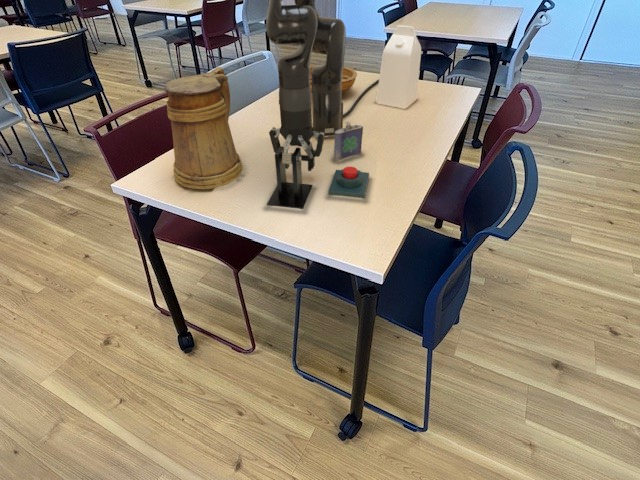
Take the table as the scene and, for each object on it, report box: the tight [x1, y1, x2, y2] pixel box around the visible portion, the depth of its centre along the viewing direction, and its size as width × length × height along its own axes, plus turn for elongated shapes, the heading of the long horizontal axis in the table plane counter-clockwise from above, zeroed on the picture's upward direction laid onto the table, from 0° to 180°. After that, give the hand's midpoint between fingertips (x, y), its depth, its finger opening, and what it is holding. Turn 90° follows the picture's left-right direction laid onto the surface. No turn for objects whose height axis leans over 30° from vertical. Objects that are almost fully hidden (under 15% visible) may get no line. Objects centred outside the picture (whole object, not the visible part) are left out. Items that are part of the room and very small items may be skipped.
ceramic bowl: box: [310, 64, 358, 94], centre depth 153 cm, size 30×24×8 cm
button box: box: [328, 168, 370, 199], centre depth 97 cm, size 11×9×4 cm
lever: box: [282, 152, 308, 165], centre depth 93 cm, size 12×6×2 cm, turn 169°
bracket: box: [266, 146, 314, 210], centre depth 91 cm, size 11×9×13 cm
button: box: [343, 166, 358, 179], centre depth 96 cm, size 4×4×2 cm
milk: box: [375, 24, 422, 110], centre depth 140 cm, size 12×12×26 cm
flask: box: [333, 121, 364, 161], centre depth 108 cm, size 9×3×11 cm, turn 121°
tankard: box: [164, 66, 244, 190], centre depth 99 cm, size 18×24×25 cm
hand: (298, 168), depth 99 cm, fingers closed on lever, 5 cm apart
